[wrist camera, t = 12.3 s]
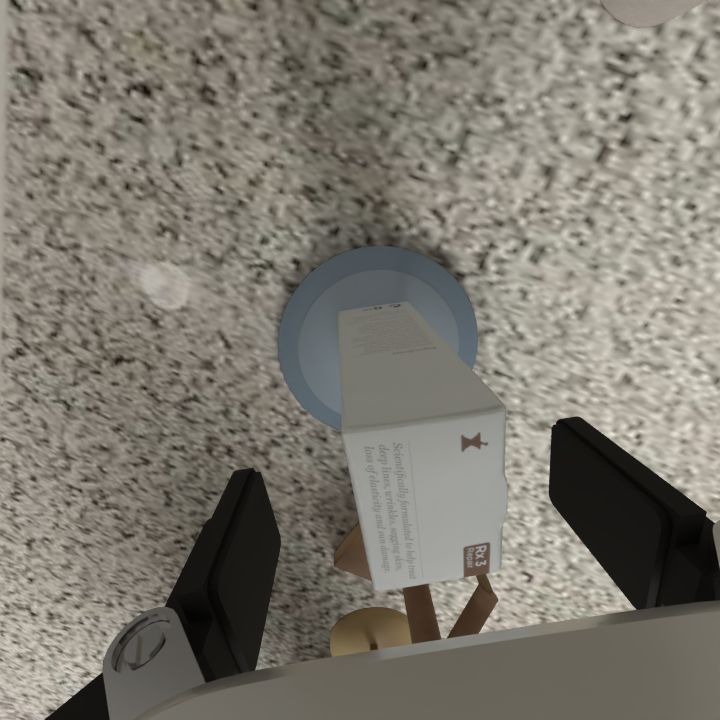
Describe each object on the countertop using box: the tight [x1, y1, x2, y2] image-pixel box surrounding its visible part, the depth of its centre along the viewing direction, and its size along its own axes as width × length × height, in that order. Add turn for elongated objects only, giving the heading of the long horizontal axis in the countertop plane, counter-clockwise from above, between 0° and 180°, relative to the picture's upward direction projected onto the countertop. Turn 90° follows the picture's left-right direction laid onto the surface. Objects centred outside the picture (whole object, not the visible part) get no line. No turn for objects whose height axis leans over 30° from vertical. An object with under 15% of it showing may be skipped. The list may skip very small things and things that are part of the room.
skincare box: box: [338, 301, 508, 590], centre depth 15 cm, size 6×4×12 cm
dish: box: [278, 246, 478, 431], centre depth 21 cm, size 12×12×1 cm
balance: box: [330, 522, 498, 657], centre depth 21 cm, size 16×6×12 cm, turn 149°
